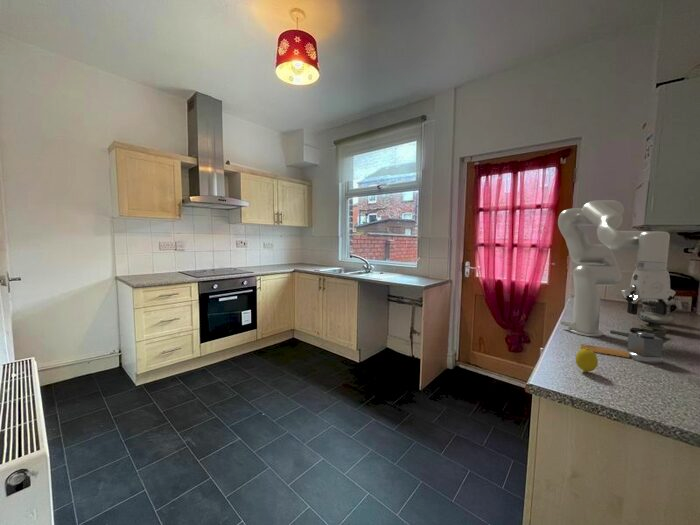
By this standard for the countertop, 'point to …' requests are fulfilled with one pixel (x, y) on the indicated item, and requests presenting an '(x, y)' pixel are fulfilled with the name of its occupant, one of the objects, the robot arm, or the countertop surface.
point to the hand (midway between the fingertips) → (646, 313)
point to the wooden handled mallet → (623, 354)
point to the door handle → (635, 330)
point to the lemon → (586, 360)
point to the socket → (645, 344)
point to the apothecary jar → (654, 315)
